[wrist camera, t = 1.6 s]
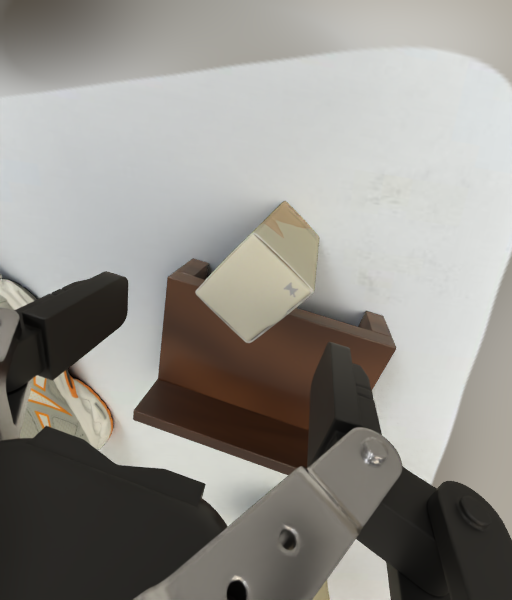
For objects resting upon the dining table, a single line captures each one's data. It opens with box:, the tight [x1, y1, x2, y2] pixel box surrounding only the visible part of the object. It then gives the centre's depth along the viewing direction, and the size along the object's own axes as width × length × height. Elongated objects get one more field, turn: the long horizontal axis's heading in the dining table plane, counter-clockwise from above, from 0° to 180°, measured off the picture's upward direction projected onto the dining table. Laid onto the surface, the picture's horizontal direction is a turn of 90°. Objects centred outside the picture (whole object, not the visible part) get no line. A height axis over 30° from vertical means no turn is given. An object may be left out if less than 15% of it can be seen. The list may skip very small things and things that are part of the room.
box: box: [195, 201, 319, 343], centre depth 19 cm, size 5×4×11 cm
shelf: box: [133, 259, 396, 475], centre depth 25 cm, size 12×18×9 cm, turn 77°
